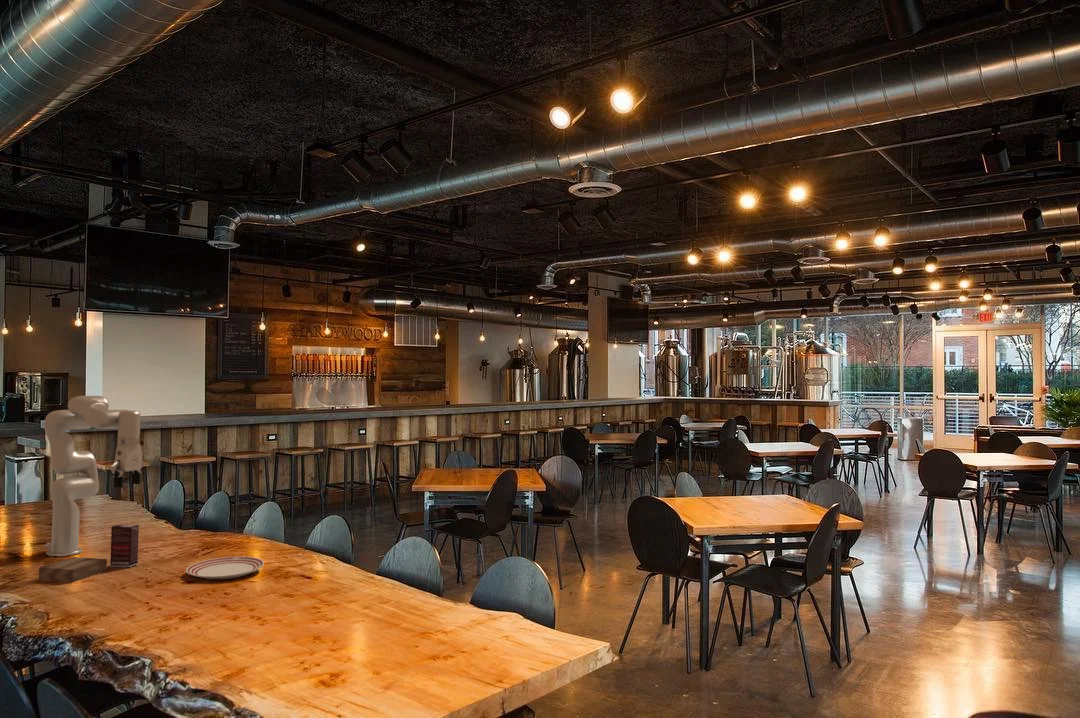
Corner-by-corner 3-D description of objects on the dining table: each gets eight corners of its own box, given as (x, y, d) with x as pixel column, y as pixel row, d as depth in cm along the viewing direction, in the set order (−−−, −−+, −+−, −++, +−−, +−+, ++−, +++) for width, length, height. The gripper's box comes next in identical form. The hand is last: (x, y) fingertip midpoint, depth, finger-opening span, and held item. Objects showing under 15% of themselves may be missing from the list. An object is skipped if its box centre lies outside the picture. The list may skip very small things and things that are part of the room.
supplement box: (138, 565, 282) (139, 524, 282) (130, 568, 277) (131, 527, 278) (117, 564, 283) (119, 523, 283) (109, 567, 278) (110, 526, 279)
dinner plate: (235, 586, 256) (235, 576, 256) (168, 580, 262) (169, 571, 262) (278, 567, 283) (278, 558, 283) (217, 562, 289) (217, 554, 289)
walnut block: (38, 581, 258) (39, 567, 259) (73, 570, 274) (74, 557, 274) (72, 583, 256) (73, 569, 256) (106, 572, 272) (106, 559, 272)
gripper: (121, 443, 273) (119, 488, 272) (152, 440, 290) (150, 483, 289) (103, 443, 274) (102, 488, 273) (135, 440, 291) (134, 482, 290)
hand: (127, 485), depth 281 cm, fingers open, 9 cm apart
